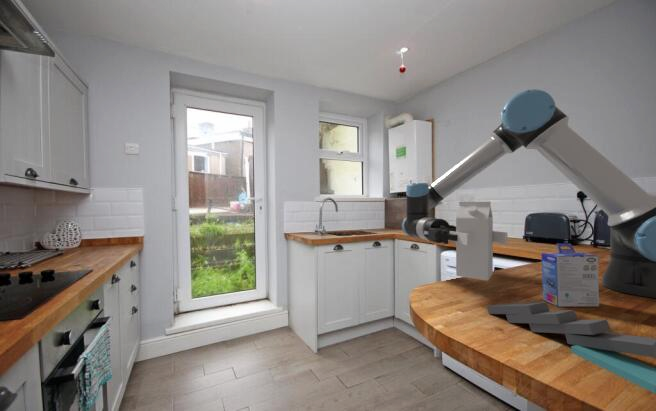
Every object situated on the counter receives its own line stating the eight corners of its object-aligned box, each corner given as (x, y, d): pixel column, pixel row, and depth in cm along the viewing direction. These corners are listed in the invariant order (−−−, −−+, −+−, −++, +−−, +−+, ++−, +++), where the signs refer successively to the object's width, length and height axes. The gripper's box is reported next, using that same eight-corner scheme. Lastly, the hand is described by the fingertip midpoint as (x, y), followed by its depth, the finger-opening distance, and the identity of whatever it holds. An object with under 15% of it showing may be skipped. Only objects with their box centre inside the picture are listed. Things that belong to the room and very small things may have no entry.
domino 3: (528, 322, 52) (588, 324, 44) (545, 319, 54) (606, 319, 45) (531, 331, 52) (592, 334, 43) (549, 328, 54) (611, 330, 45)
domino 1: (486, 306, 61) (528, 305, 52) (503, 303, 63) (546, 302, 54) (488, 313, 61) (531, 314, 52) (505, 310, 62) (549, 310, 53)
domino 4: (565, 333, 47) (651, 345, 38) (577, 329, 49) (661, 339, 41) (567, 343, 46) (655, 357, 38) (579, 338, 49) (664, 350, 40)
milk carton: (462, 270, 74) (462, 201, 74) (492, 275, 70) (492, 201, 70) (456, 276, 69) (455, 201, 69) (488, 281, 64) (488, 201, 64)
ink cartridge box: (579, 299, 69) (579, 242, 69) (601, 307, 64) (600, 246, 64) (540, 299, 69) (540, 242, 69) (558, 307, 64) (558, 246, 64)
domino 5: (571, 346, 45) (655, 385, 35) (594, 342, 46) (682, 380, 36) (571, 355, 45) (655, 398, 35) (594, 352, 46) (682, 391, 36)
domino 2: (505, 314, 57) (555, 314, 48) (522, 311, 58) (573, 310, 50) (508, 322, 56) (559, 324, 47) (525, 319, 58) (577, 319, 49)
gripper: (464, 240, 89) (526, 252, 67) (401, 242, 85) (446, 256, 63) (464, 217, 89) (526, 222, 67) (401, 218, 85) (445, 224, 63)
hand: (487, 238), depth 65 cm, fingers closed on milk carton, 10 cm apart
